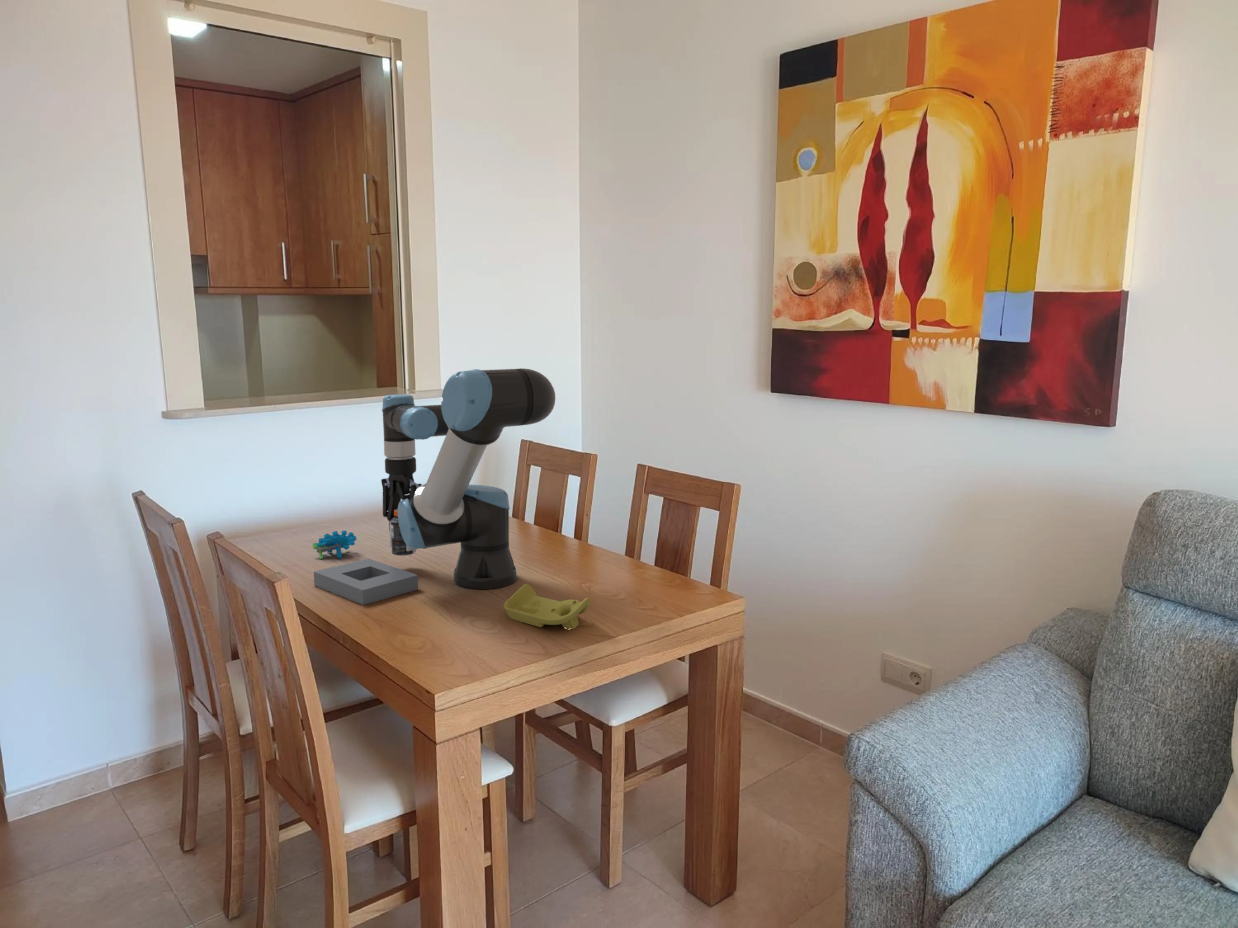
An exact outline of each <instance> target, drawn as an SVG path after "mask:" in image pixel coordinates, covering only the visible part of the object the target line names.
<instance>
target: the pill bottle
mask: <svg viewBox="0 0 1238 928" xmlns="http://www.w3.org/2000/svg"><path fill="white" fill-rule="evenodd" d="M394 516H395V517H394V518H392V520H391V542H392V547H391V554H392V555H394V556H396V557H397V556H398V557H401V556H402V557H403V556H404V557H405V556H412V555H414V554H415V553H416V551H417V549H416V550H412V551H406V543H405V542H404V540H403V537H402V534H401V531H400V527H399V521H398V509H396V510H394Z"/></svg>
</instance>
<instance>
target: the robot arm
mask: <svg viewBox="0 0 1238 928" xmlns="http://www.w3.org/2000/svg"><path fill="white" fill-rule="evenodd" d="M443 386H444V387H443V390H442V393H441V394H442V395H441V398H442V401H441V403H440V404H433V405H432V404H430V405H416V404H415V401H414V396H413V395H411V394H407V393H406V394H405V393H404V394H387V395H385V396H384V397H383V398H382V408H381V412H382V422H383V423H382V424H383V427H382V428H383V451H384V452H383V455H384V457H385V459H384V473H386V475H387V474H388V477H386V478H382V479H381V480H380V481H381V482H380V483H381V486H382V516H383V517H384V518H386V519H387V521H388V531H389V543H390V545H389V546H390V547H391V548H392V542H391V520H392V518H394V517H395V516H394V510H396V509H398V521H399V527H400V531H401V534H402V537H403V540H404V542H405V543H406V551H412V550H416V551H417V550H419V549H423V550H425V549H429V548H435V547H442V546H447V545H452V544H453V545H454V544H458V543H459V544H460V550H459V551H460V552H459V555H458V558H457V562H456V565H455V568H454V571H453V582H454V583H455V584H456V585H458V586H460V587H462V588H467V589H475V590H487V589H488V590H491V589H498V588H503V587H506V585H507V586H510V585H512V584H514V582H516V580H517V569H516V565H515V563H514V559H513V556H512V553H511V550H510V516H509V515H510V503H509V495H508V493H507V491H506V490H505V489H502V488H499V487H495V486H490V485H482V484H470V483H471V481H472V479H473V477H474V474H475V473H476V470H477V468H478V466H479V463H480V461H481V460H482V457H483V455H484V453H485V450H486V449H487V447H488V446H489V445H491V444H494V443H496V441H498V439H499V438H500V436H501V435H502V432H503V430H504V428H506V427H518V426H519V427H520V426H529V425H533V424H537V423H539V422H541V421H543V420H545V419H546V418H547V417H549V416H550V414H551V413H552V411H553V409H554V407H555V404H556V391H555V388H554V386H553V385H552V383H551V381H550V380H549V378H547V377H546V376H545V375H544V374H542V373H541V372H538V371H536V370H534V369H530V368H523V367H521V368H506V369H505V368H503V369H477V368H473V369H472V368H471V369H468V370H463V371H462V370H461V371H457V372H455V373H453V374H452V375H451V376H450V377H448V379H447V381H446V382H445V384H444V385H443ZM444 436H445V437H444ZM432 437H434V438H435V437H444V440H443V441H442V444H441V447H440V450H439V452H438V454H437V457H436V459H435V462H434V464H433V467H432V469H431V471H430V474H429V476H428V478H427V480H426V482H425V483H424V484H423V483H417V482H415V479H414V473H416V472H417V459H416V457H415V456H416V440H427V439H430V438H432ZM509 584H510V585H509Z"/></svg>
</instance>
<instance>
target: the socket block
mask: <svg viewBox="0 0 1238 928" xmlns="http://www.w3.org/2000/svg"><path fill="white" fill-rule="evenodd" d="M313 579H314V580H313V581H314V584H313V585H314V587H316V586H317V587H316V588H319V589H322V590H324V591H326V590H327V591H326V592H329V591H330V593H331V594H334V595H337V596H339V597H342V598H344V599H346V598H347V600H349V601H352V602H353V603H357V604H359V605H362V606H366V605H369V604H372V603H376V602H379V601H383V600H386V599H389V598H392V597H393V598H394V597H396V596H400V595H403V594H406V593H410V592H413V591H417V590H419V575H418V574H415V573H413V572H411V571H407V570H404V569H401V568H398V567H395V566H392V565H389V564H386V563H385V562H384V563H383V562H381V561H377V560H374V559H372V558H364V559H359V560H356V561H352V562H347V563H343V564H340V565H334V566H332V567H327V568H323V569H319V570H314V571H313Z"/></svg>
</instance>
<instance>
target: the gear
mask: <svg viewBox="0 0 1238 928" xmlns="http://www.w3.org/2000/svg"><path fill="white" fill-rule="evenodd" d="M331 533H332V535H331V534H329V533H325V534H323V538H322V537H320V538H318V542H313V543H312V547H313V548H312V549H313V550H316V553H318V555H319V560H323V559H324V557H323V553H325V552H327V553H328V554H330V553H333V551H335V552H336V556H337V559H338V560H339V559H342V549H344V550H348V549H350V546H354V545H355V544H356V543H355V541H357V540H358V539H357V537H356V535H354V532H351V531H349V532H348V533H347V530H342V531H341V534H339V532H338V530H334V531H332V532H331Z"/></svg>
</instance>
